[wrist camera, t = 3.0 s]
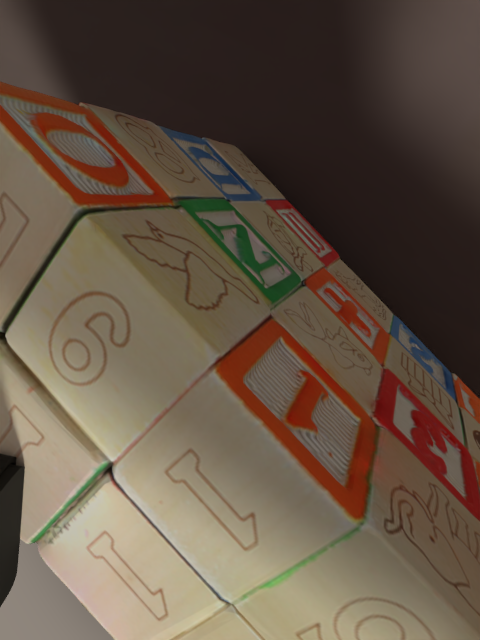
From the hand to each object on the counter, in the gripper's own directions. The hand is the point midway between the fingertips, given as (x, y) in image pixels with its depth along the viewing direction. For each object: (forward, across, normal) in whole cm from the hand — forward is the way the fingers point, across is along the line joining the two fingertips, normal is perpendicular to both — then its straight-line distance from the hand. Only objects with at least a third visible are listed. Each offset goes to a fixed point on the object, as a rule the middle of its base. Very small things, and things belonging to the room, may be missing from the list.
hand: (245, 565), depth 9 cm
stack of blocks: (+10, -5, 0) cm, 11 cm away
